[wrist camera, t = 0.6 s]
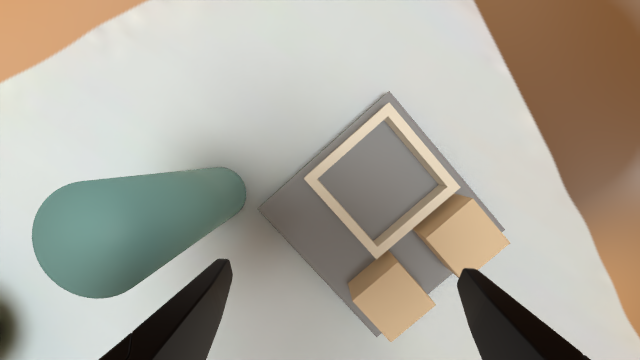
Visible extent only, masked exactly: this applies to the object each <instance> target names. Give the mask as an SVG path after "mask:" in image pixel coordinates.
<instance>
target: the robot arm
mask: <svg viewBox="0 0 640 360" xmlns="http://www.w3.org/2000/svg"><path fill="white" fill-rule="evenodd" d="M232 276H233V274H232V269H231V265H230V261H229V260H228V259H217V260H216V261H215V262H213V263H212V264H211V265H210V266H209V267H208V268H206V269H205V270H204V271H203V272H202V273H201V274H199V275H198V276H197V277H196V278H195V279H194V280H192V281H191V282H190V283H189V284H188V285H186V286H185V287H184V288H183V289H182V290H181V291H179V292H178V293H177V294H176V295H175V296H174V297H172V298H171V299H170V300H169V301H168V302H167V303H165V304H164V305H163V306H162V307H161V308H159V309H158V310H157V311H156V312H155V313H154V314H152V315H151V316H150V317H149V318H148V319H147V320H145V321H144V322H143V323H142V324H141V325H140V326H138V327H137V328H136V329H135V330H134V331H133V333H130V334H129V335H128V336H126V337H125V338H124V339H123V340H122V341H121V342H119V343H118V344H117V345H116V346H115V347H113V348H112V349H111V350H110V351H109V352H107V353H106V354H105V355H104V356H102V357H101V358H100V359H99V360H206V358H207V356H208V353H209V350H210V348H211V345H212V343H213V340H214V337H215V335H216V332H217V329H218V327H219V324H220V321H221V318H222V315H223V312H224V308H225V304H226V300H227V297H228V293H229V289H230V285H231V282H232ZM457 288H458V291H459V295H460V298H461V301H462V305H463V308H464V312H465V315H466V318H467V322H468V325H469V328H470V331H471V333H472V336H473V338H474V341H475V343H476V346H477V348H478V350H479V353H480V355H481V358H482V360H590V359H589V358H588V357H587V356H585V355H583V354H582V352H580V351H579V350H578V349H576V348H575V347H574V346H573V345H571V344H570V343H569V342H568V341H566V340H565V339H564V338H563V337H561V336H560V335H559V334H558V333H556V332H555V331H554V330H553V329H551V328H550V327H549V326H548V325H546V324H545V323H544V322H542V321H541V320H540V319H539V318H537V317H536V316H535V315H534V314H532V313H531V312H530V311H529V310H527V309H526V308H525V307H524V306H522V305H521V304H520V303H519V302H517V301H516V300H515V299H514V298H512V297H511V296H510V295H508V294H507V293H506V292H505V291H503V290H502V289H501V288H500V287H498V286H497V285H496V284H495V283H493V282H492V281H491V280H490V279H488V278H487V277H486V276H485V275H483V274H482V273H481V272H480V271H478V270H477V269H475V268H464V269H463V270H462V272H461V275H460V277H459V280H458V283H457Z"/></svg>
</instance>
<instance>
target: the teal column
mask: <svg viewBox="0 0 640 360" xmlns="http://www.w3.org/2000/svg"><path fill="white" fill-rule="evenodd" d="M245 199H246V188H245V185H244V183H243V181H242V179H241V178H240V177H239V175H237V174H236V173H235V172H234V171H232V170H230V169H227V168H222V167H216V168H206V169H196V170H186V171H177V172H167V173H157V174H148V175H138V176H128V177H118V178H109V179H99V180H89V181H81V182H75V183H71V184H68V185H66V186H63V187H61V188H60V189H58V190H56V191H55V192H53V193H52V194H51V195H50V196H49V197H48V198H47V199H46V200H45V201H44V202H43V204H42V205H41V206H40V208H39V210H38V212H37V214H36V216H35V220H34V223H33V229H32V242H33V248H34V252H35V255H36V257H37V260H38V262H39V264H40V266H41V267H42V269H43V270H44V272H45V273H46V274H47V275H48V276H49V277H50V279H51V280H53V281H54V282H55V283H56V284H57V285H59V286H60V287H62V288H63V289H65V290H67V291H69V292H71V293H73V294H76V295H79V296H83V297H87V298H108V297H113V296H117V295H119V294H122V293H124V292H126V291H128V290H130V289H131V288H133V287H134V286H135V285H137V284H138V283H140V282H141V281H142V280H144V279H145V278H147V277H148V276H150V275H151V274H152V273H154V272H155V271H157V270H158V269H159V268H161V267H162V266H164V265H165V264H166V263H168V262H169V261H171V260H172V259H173V258H175V257H176V256H178V255H179V254H180V253H182V252H183V251H185V250H186V249H187V248H189V247H190V246H192V245H193V244H194V243H196V242H197V241H199V240H200V239H201V238H203V237H204V236H206V235H207V234H208V233H210V232H211V231H213V230H214V229H215V228H217V227H218V226H220V225H221V224H223V223H224V222H225V221H227V220H228V219H230V218H231V217H232V216H234V215H235V214H236V213H238V212H239V211H240V210H241V208H242V207H243V205H244V203H245Z"/></svg>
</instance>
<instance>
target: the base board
mask: <svg viewBox="0 0 640 360" xmlns="http://www.w3.org/2000/svg"><path fill="white" fill-rule="evenodd" d="M258 210H259V211H260V212H261V213H262V214H263V215H264V217H265V218H266V219H267V220H268V221H269V222H270V223H271V224H272V225H273V226H274V227H275V228H276V229H277V231H278V232H279V233H280V234H281V235H282V236H283V237H284V238H285V239H286V240H287V241H288V242H289V243H290V244H291V246H292V247H293V248H294V249H295V250H296V251H297V252H298V253H299V254H300V255H301V256H302V257H303V258H304V260H305V261H306V262H307V263H308V264H309V265H310V266H311V267H312V268H313V269H314V270H315V271H316V272H317V273H318V275H319V276H320V277H321V278H322V279H323V280H324V281H325V282H326V283H327V284H328V285H329V286H330V287H331V289H332V290H333V291H334V292H335V293H336V294H337V295H338V296H339V297H340V298H341V299H342V300H343V301H344V302H345V304H346V305H347V306H348V307H349V308H350V309H351V310H352V311H353V312H354V313H355V314H356V315H357V316H358V318H359V319H360V320H361V321H362V322H363V323H364V324H365V325H366V326H367V327H368V328H369V329H370V330H371V331H372V333H373V334H374V335H375V336H376V337H377V336H378V335H380V334H381V333H383V335H384V336H385V337H386V338H387V339H388V340H389V341H390V342H392V341H393V340H394V339H396V338H397V337H398V336H399V335H400V334H402V333H403V332H404V331H405V330H406V329H408V328H409V327H410V326H411V325H412V324H414V323H415V322H416V321H417V320H418V319H420V318H421V317H422V316H423V315H424V314H426V313H427V312H428V311H429V310H430V309H432V308H433V307H434V306H435V305H436V304H435V303H434V302H433V301H432V299H431V298H430V297H429V296H428V294H429V293H430V292H431V291H432V290H433V289H435V288H436V287H437V286H438V285H439V284H441V283H442V282H443V281H444V280H445V279H446V278H448V277H449V276H450V275H451V274H452V273H454V274H455V275H456V276H457V277H458V278H459V277H460V275H461V272H462V270H463V269H464V268H475V269H477V270H478V269H480V268H481V267H482V266H483V265H484V264H486V263H487V262H488V261H489V260H490V259H492V258H493V257H494V256H495V255H496V254H498V253H499V252H500V251H501V250H502V249H504V248H505V247H506V246H507V245H508V244H510V242H509V241H508V240H507V238H506V237H505V236H504V235H503V234H502V232H503V231H504V230H505V229H504V228H503V227H502V226H501V224H500V223H499V222H498V221H497V220H496V218H495V217H494V216H493V215H492V214H491V212H490V211H489V210H488V209H487V208H486V206H485V205H484V204H483V203H482V202H481V200H480V199H479V198H478V197H477V196H476V194H475V193H474V192H473V191H472V190H471V188H470V187H469V186H468V185H467V184H466V182H465V181H464V180H463V179H462V178H461V176H460V175H459V174H458V173H457V172H456V170H455V169H454V168H453V167H452V166H451V164H450V163H449V162H448V161H447V160H446V158H445V157H444V156H443V155H442V154H441V152H440V151H439V150H438V149H437V148H436V146H435V145H434V144H433V143H432V142H431V140H430V139H429V138H428V137H427V136H426V134H425V133H424V132H423V131H422V130H421V128H420V127H419V126H418V125H417V124H416V122H415V121H414V120H413V119H412V118H411V116H410V115H409V114H408V113H407V112H406V110H405V109H404V108H403V107H402V106H401V105H400V103H399V102H398V101H397V100H396V99H395V97H394V96H393V95H392V94H391V93H390V91H389V92H387V93H386V94H385V95H384V96H383V97H382V98H381V99H380V100H378V101H377V102H376V103H375V104H374V105H373V106H372V107H371V108H370V109H368V110H367V111H366V112H365V113H364V114H363V115H362V116H361V117H359V118H358V119H357V120H356V121H355V122H354V123H353V124H352V125H351V126H349V127H348V128H347V129H346V130H345V131H344V132H343V133H342V134H340V135H339V136H338V137H337V138H336V139H335V140H334V141H333V142H332V143H330V144H329V145H328V146H327V147H326V148H325V149H324V150H323V151H321V152H320V153H319V154H318V155H317V156H316V157H315V158H314V159H313V160H311V161H310V162H309V163H308V164H307V165H306V166H305V167H304V168H302V169H301V170H300V171H299V172H298V173H297V174H296V175H295V176H293V177H292V178H291V179H290V180H289V181H288V182H287V183H286V184H285V185H283V186H282V187H281V188H280V189H279V190H278V191H277V192H276V193H274V194H273V195H272V196H271V197H270V198H269V199H268V200H267V201H266V202H264V203H263V204H262V205H261V206H260V207H259V208H258Z"/></svg>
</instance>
